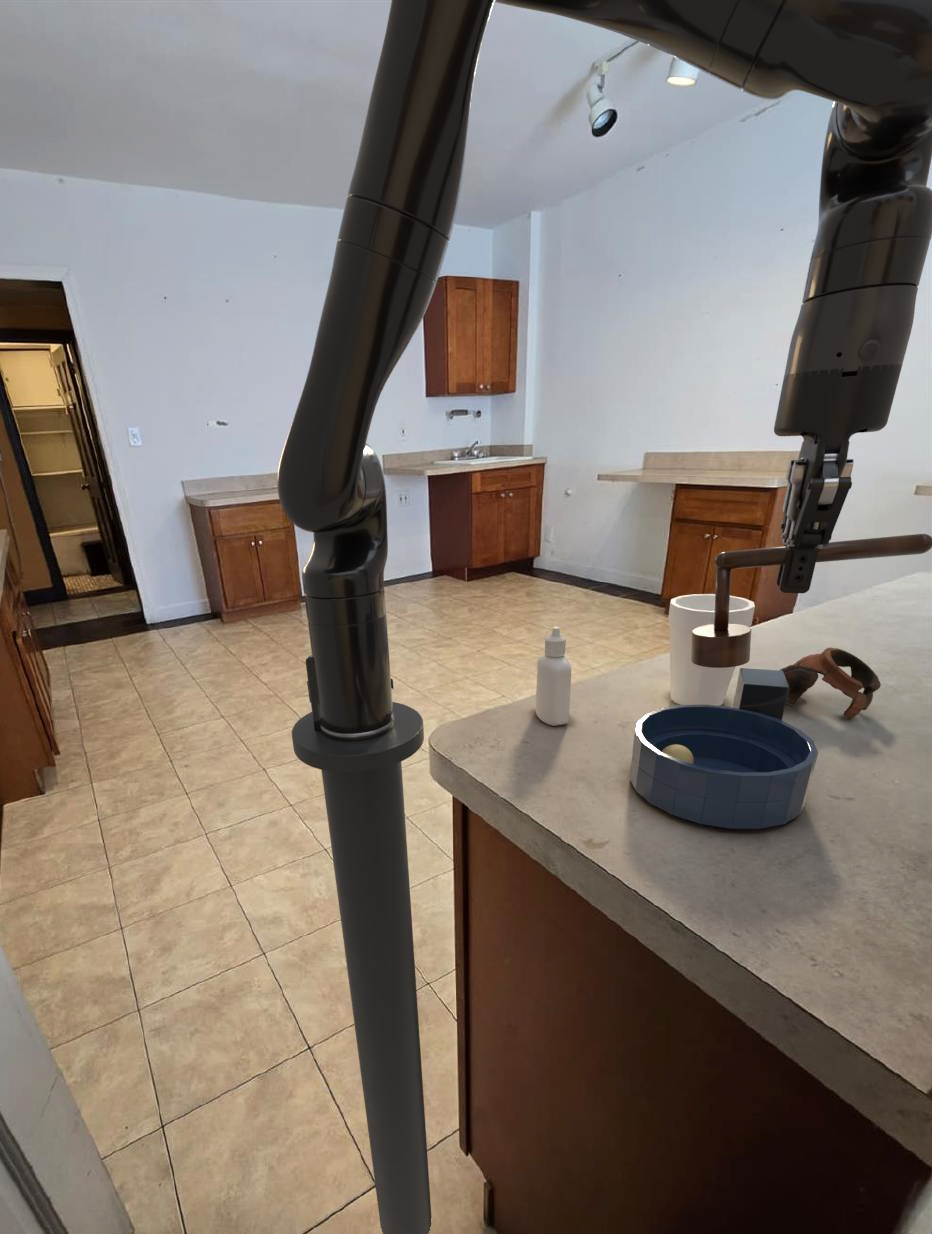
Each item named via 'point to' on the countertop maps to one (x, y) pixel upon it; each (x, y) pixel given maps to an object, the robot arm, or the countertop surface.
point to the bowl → (723, 766)
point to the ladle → (733, 641)
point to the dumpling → (679, 753)
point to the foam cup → (686, 677)
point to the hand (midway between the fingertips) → (791, 588)
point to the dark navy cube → (762, 692)
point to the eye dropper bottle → (553, 681)
